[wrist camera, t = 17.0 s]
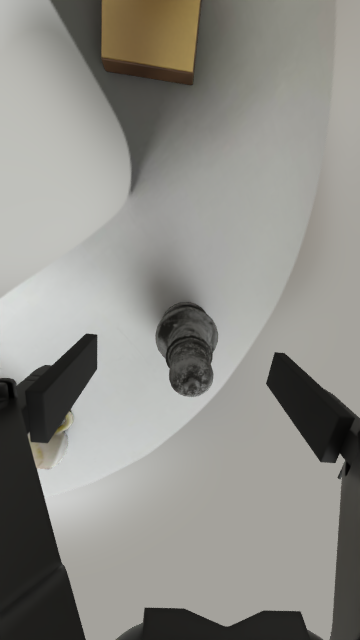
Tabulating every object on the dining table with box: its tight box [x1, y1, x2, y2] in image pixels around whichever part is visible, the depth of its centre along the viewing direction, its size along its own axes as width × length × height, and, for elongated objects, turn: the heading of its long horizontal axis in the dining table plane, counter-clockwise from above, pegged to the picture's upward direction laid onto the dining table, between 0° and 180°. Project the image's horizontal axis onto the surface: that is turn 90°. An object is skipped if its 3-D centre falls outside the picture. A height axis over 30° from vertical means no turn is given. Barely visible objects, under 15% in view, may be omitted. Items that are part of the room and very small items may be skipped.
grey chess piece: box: [156, 302, 218, 397], centre depth 18 cm, size 6×6×12 cm
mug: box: [28, 411, 73, 469], centre depth 24 cm, size 8×10×10 cm
